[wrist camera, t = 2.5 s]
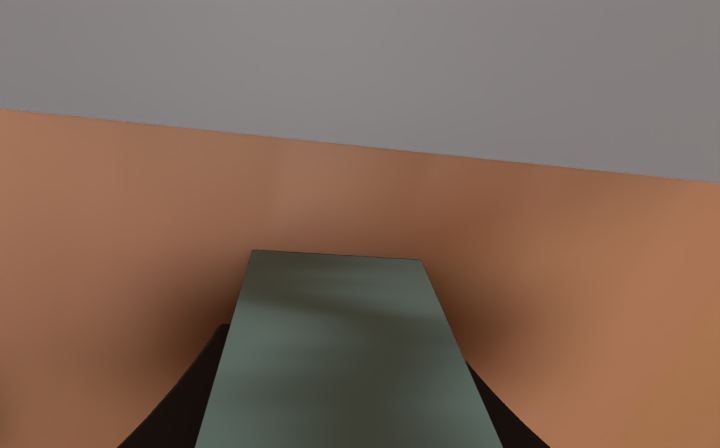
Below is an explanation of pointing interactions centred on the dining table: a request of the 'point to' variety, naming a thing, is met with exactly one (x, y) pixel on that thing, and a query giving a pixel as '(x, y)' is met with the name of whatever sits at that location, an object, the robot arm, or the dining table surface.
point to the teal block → (341, 360)
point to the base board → (390, 74)
